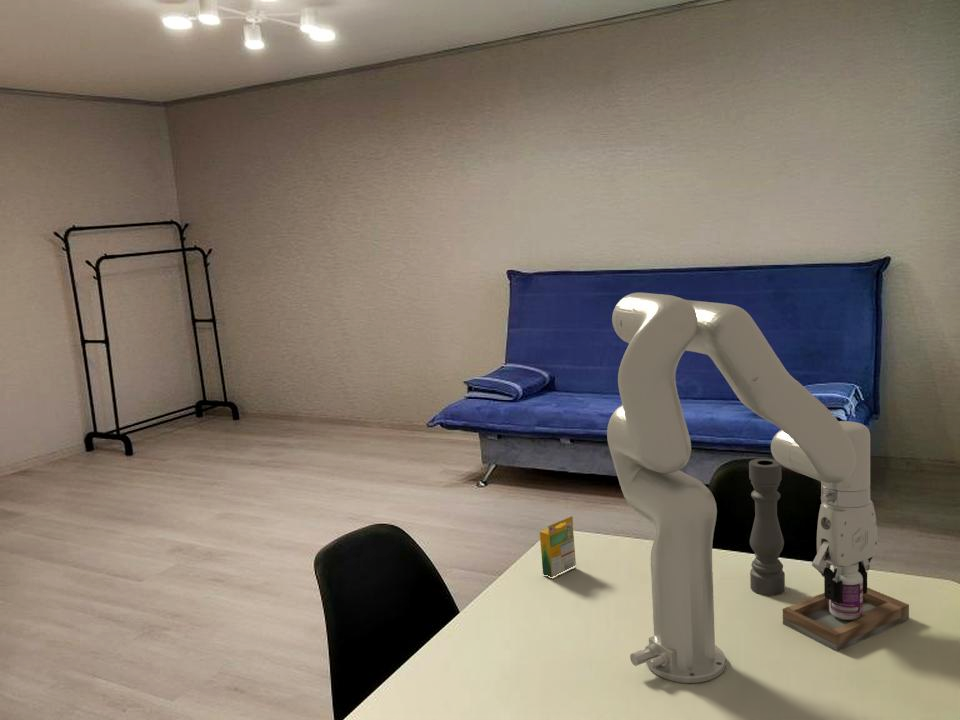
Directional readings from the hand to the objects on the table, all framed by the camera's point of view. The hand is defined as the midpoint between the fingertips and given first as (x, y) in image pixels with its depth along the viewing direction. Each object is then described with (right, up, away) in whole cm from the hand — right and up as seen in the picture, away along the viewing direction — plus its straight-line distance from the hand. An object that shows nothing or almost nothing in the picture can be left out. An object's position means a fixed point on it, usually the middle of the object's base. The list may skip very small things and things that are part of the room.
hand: (845, 594), depth 136 cm
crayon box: (-46, -4, +29) cm, 55 cm away
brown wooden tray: (0, -5, +1) cm, 5 cm away
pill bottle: (0, -4, +1) cm, 4 cm away
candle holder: (-8, -4, +15) cm, 17 cm away
